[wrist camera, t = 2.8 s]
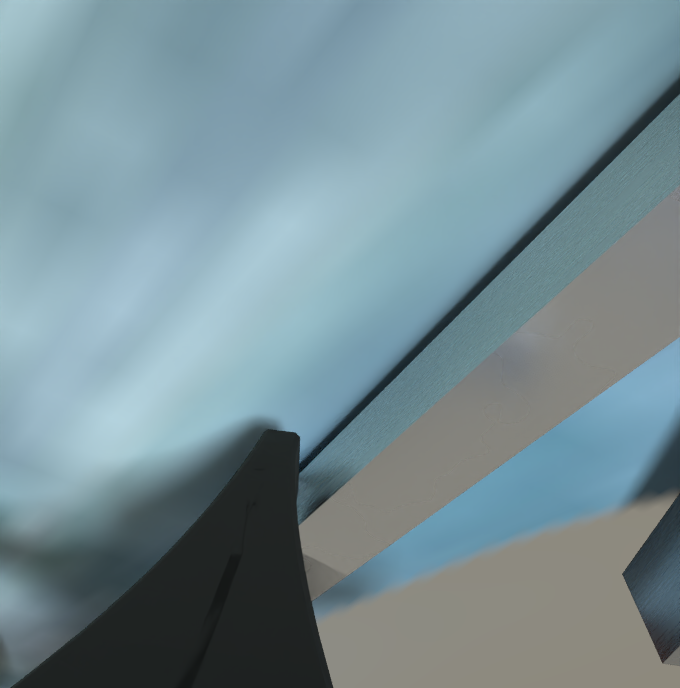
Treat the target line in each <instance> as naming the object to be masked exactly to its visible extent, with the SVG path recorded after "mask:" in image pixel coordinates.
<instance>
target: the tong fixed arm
mask: <svg viewBox="0 0 680 688" xmlns="http://www.w3.org/2000/svg"><path fill="white" fill-rule="evenodd" d="M622 575H623V576H624V579H625V581H626V583H627V586H628V588H629V590H630V592H631V595H632V597H633V599H634V601H635V603H636V606H637V608H638V610H639V612H640V614H641V617H642V619H643V621H644V623H645V625H646V628H647V630H648V632H649V634H650V636H651V639H652V641H653V643H654V645H655V648H656V650H657V652H658V654H659V656H660V659H661V661H662V663H663V664H670V665H678V666H680V494H679V495H678V497H677V498H676V499H675V501H674V502H673V504H672V505H671V506H670V508H669V509H668V511H667V512H666V514H665V515H664V516H663V518H662V519H661V520H660V522H659V523H658V525H657V526H656V528H655V529H654V530H653V532H652V533H651V534H650V536H649V537H648V539H647V540H646V541H645V543H644V544H643V546H642V547H641V548H640V550H639V551H638V553H637V554H636V555H635V557H634V558H633V560H632V561H631V563H630V564H629V565H628V567H627V568H626V569H625V571H624V572H623V574H622Z"/></svg>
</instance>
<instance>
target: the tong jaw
mask: <svg viewBox="0 0 680 688" xmlns="http://www.w3.org/2000/svg"><path fill="white" fill-rule="evenodd" d="M679 337H680V94H679V95H678V96H677V97H676V98H675V99H674V100H673V101H672V102H671V103H670V104H669V105H668V106H667V107H666V108H665V109H664V110H663V111H662V112H661V113H660V114H659V115H658V116H657V117H656V118H655V119H654V120H653V121H652V122H651V123H650V124H649V125H648V126H647V127H646V128H645V129H644V130H643V131H642V132H641V133H640V134H639V135H638V136H637V137H636V138H635V139H634V140H633V141H632V142H631V143H630V144H629V145H628V146H627V147H626V148H625V149H624V150H623V151H622V152H621V153H620V154H619V155H618V156H617V157H616V158H615V159H614V160H613V161H612V162H611V163H610V164H609V165H608V166H607V167H606V168H605V169H604V170H603V171H602V172H601V173H600V174H599V175H598V176H597V177H596V178H595V179H594V180H593V181H592V182H591V183H590V184H589V185H588V186H587V187H586V188H585V189H584V190H583V191H582V192H581V193H580V194H579V195H578V196H577V197H576V198H575V199H574V200H573V201H572V202H571V203H570V204H569V205H568V206H567V207H566V208H565V209H564V210H563V211H562V212H561V213H560V214H559V215H558V216H557V217H556V218H555V219H554V220H553V221H552V222H551V223H550V224H549V225H548V226H547V227H546V228H545V229H544V230H543V231H542V232H541V233H540V234H539V235H538V236H537V237H536V238H535V239H534V240H533V241H532V242H531V243H530V244H529V245H528V246H527V247H526V248H525V249H524V250H523V251H522V252H521V253H520V254H519V255H518V256H517V257H516V258H515V259H514V260H513V261H512V262H511V263H510V264H509V265H508V266H507V267H506V268H505V269H504V270H503V271H502V272H501V273H500V274H499V275H498V276H497V277H496V278H495V279H494V280H493V281H492V282H491V283H490V284H489V285H488V286H487V287H486V288H485V289H484V290H483V291H482V292H481V293H480V294H479V295H478V296H477V297H476V298H475V299H474V300H473V301H472V302H471V303H470V304H469V305H468V306H467V307H466V308H465V309H464V310H463V311H462V312H461V313H460V314H459V315H458V316H457V317H456V318H455V319H454V320H453V321H452V322H451V323H450V324H449V325H448V326H447V327H446V328H445V329H444V330H443V331H442V332H441V333H440V334H439V335H438V336H437V337H436V338H435V339H434V340H433V341H432V342H431V343H430V344H429V345H428V346H427V347H426V348H425V349H424V350H423V351H422V352H421V353H420V354H419V355H418V356H417V357H416V358H415V359H414V360H413V361H412V362H411V363H410V364H409V365H408V366H407V367H406V368H405V369H404V370H403V371H402V372H401V373H400V374H399V375H398V376H397V377H396V378H395V379H394V380H393V381H392V382H391V383H390V384H389V385H388V386H387V387H386V388H385V389H384V390H383V391H382V392H381V393H380V394H379V395H378V396H377V397H376V398H375V399H374V400H373V401H372V402H371V403H370V404H369V405H368V406H367V407H366V408H365V409H364V410H363V411H362V412H361V413H360V414H359V415H358V416H357V417H356V418H355V419H354V420H353V421H352V422H351V423H350V424H349V425H348V426H347V427H346V428H345V429H344V430H343V431H342V432H341V433H340V434H339V435H338V436H337V437H336V438H335V439H334V440H333V441H332V442H331V443H330V444H329V445H328V446H327V447H326V448H325V449H324V450H323V451H322V452H321V453H320V454H319V455H318V456H317V457H316V458H315V459H314V460H313V461H312V462H311V463H310V464H309V465H308V466H307V467H306V468H305V469H304V470H303V471H302V472H301V473H300V474H299V488H298V496H297V503H296V504H297V516H298V525H299V534H300V541H301V547H302V554H303V560H304V566H305V572H306V577H307V582H308V587H309V592H310V597H311V602H312V601H313V600H315V599H316V598H317V597H319V596H320V595H321V594H323V593H324V592H326V591H327V590H328V589H330V588H331V587H333V586H334V585H335V584H337V583H338V582H340V581H341V580H342V579H344V578H345V577H346V576H348V575H349V574H351V573H352V572H353V571H355V570H356V569H358V568H359V567H360V566H362V565H363V564H365V563H366V562H367V561H369V560H370V559H372V558H373V557H374V556H376V555H377V554H378V553H380V552H381V551H383V550H384V549H385V548H387V547H388V546H390V545H391V544H392V543H394V542H395V541H397V540H398V539H399V538H401V537H402V536H403V535H405V534H406V533H408V532H409V531H410V530H412V529H413V528H415V527H416V526H417V525H419V524H420V523H422V522H423V521H424V520H426V519H427V518H429V517H430V516H431V515H433V514H434V513H435V512H437V511H438V510H440V509H441V508H442V507H444V506H445V505H447V504H448V503H449V502H451V501H452V500H454V499H455V498H456V497H458V496H459V495H460V494H462V493H463V492H465V491H466V490H467V489H469V488H470V487H472V486H473V485H474V484H476V483H477V482H479V481H480V480H481V479H483V478H484V477H486V476H487V475H488V474H490V473H491V472H492V471H494V470H495V469H497V468H498V467H499V466H501V465H502V464H504V463H505V462H506V461H508V460H509V459H511V458H512V457H513V456H515V455H516V454H517V453H519V452H520V451H522V450H523V449H524V448H526V447H527V446H529V445H530V444H531V443H533V442H534V441H536V440H537V439H538V438H540V437H541V436H542V435H544V434H545V433H547V432H548V431H549V430H551V429H552V428H554V427H555V426H556V425H558V424H559V423H561V422H562V421H563V420H565V419H566V418H568V417H569V416H570V415H572V414H573V413H574V412H576V411H577V410H579V409H580V408H581V407H583V406H584V405H586V404H587V403H588V402H590V401H591V400H593V399H594V398H595V397H597V396H598V395H599V394H601V393H602V392H604V391H605V390H606V389H608V388H609V387H611V386H612V385H613V384H615V383H616V382H618V381H619V380H620V379H622V378H623V377H625V376H626V375H627V374H629V373H630V372H631V371H633V370H634V369H636V368H637V367H638V366H640V365H641V364H643V363H644V362H645V361H647V360H648V359H650V358H651V357H652V356H654V355H655V354H656V353H658V352H659V351H661V350H662V349H663V348H665V347H666V346H668V345H669V344H670V343H672V342H673V341H675V340H676V339H677V338H679Z"/></svg>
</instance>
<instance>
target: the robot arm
mask: <svg viewBox="0 0 680 688" xmlns="http://www.w3.org/2000/svg"><path fill="white" fill-rule="evenodd" d="M299 453H300V437H299V436H298V435H297V434H296V433H294V432H286V431H277V430H269V429H268V430H267V431H265V432H264V433H263V434H262V436H261V438H260V439H259V441H258V442H257V444H256V445H255V447H254V448H253V450H252V451H251V453H250V454H249V456H248V457H247V458H246V460H245V461H244V463H243V464H242V465H241V467H240V468H239V469H238V471H237V472H236V473H235V475H234V476H233V477H232V479H231V480H230V481H229V482H228V484H227V485H226V486H225V487H224V489H223V490H222V491H221V492H220V494H219V495H218V496H217V497H216V499H215V500H214V501H213V502H212V503H211V505H210V506H209V507H208V508H207V509H206V510H205V512H204V513H203V514H202V515H201V516H200V517H199V518H198V519H197V521H196V522H195V523H194V524H193V525H192V526H191V527H190V528H189V530H188V531H187V532H186V533H185V534H184V535H183V536H182V537H181V538H180V539H179V541H178V542H177V543H176V544H175V545H174V546H173V547H172V548H171V549H170V550H169V551H168V552H167V553H166V554H165V555H164V556H163V557H162V558H161V559H160V560H159V561H158V562H157V563H156V564H155V565H154V566H153V567H152V568H151V569H150V570H149V571H148V572H147V573H146V574H145V575H144V576H143V577H142V578H141V579H140V580H139V581H138V582H136V583H135V584H134V585H133V586H132V587H131V588H130V589H129V590H128V591H127V592H125V593H124V594H123V595H122V596H121V597H120V598H119V599H118V600H117V601H116V602H114V603H113V604H112V605H111V606H110V607H109V608H108V609H107V610H106V611H105V612H103V613H102V614H101V615H100V616H99V617H98V618H96V619H95V620H94V621H93V622H92V623H91V624H89V625H88V626H87V627H86V628H85V629H84V630H82V631H81V632H80V633H79V634H77V635H76V636H75V637H74V638H72V639H71V640H70V641H69V642H68V643H66V644H65V645H64V646H63V647H61V648H60V649H59V650H58V651H56V652H55V653H54V654H53V655H51V656H50V657H49V658H48V659H46V660H45V661H44V662H43V663H41V664H40V665H39V666H38V667H36V668H35V669H34V670H33V671H31V672H30V673H29V674H28V675H26V676H25V677H24V678H23V679H21V680H20V681H19V682H17V683H16V684H15V685H13V686H12V687H11V688H333V685H332V682H331V678H330V674H329V670H328V667H327V663H326V659H325V655H324V652H323V648H322V644H321V641H320V637H319V632H318V628H317V624H316V620H315V615H314V611H313V607H312V602H311V597H310V592H309V587H308V582H307V577H306V572H305V566H304V560H303V554H302V547H301V541H300V534H299V525H298V516H297V504H296V503H297V496H298V488H299Z"/></svg>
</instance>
